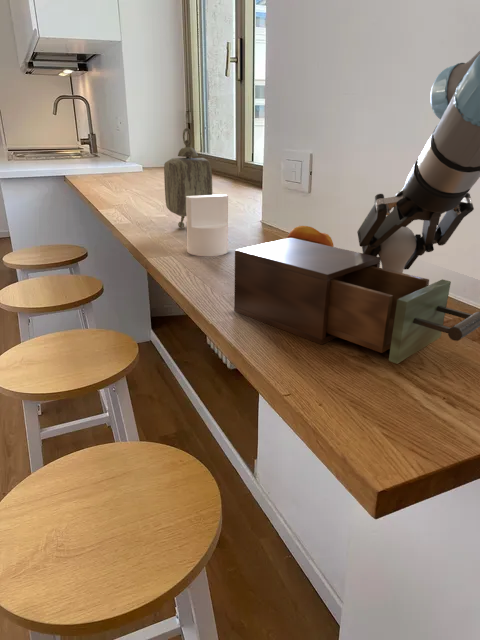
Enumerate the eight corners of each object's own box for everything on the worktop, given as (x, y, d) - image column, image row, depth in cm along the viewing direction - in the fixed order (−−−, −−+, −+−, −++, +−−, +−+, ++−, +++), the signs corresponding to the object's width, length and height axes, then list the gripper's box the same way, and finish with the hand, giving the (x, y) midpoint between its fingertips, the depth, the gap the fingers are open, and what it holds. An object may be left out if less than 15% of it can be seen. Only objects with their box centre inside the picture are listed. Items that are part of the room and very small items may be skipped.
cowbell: (212, 231, 129) (211, 128, 119) (178, 234, 126) (175, 128, 116) (196, 221, 141) (194, 127, 132) (165, 223, 138) (161, 127, 129)
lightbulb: (398, 300, 77) (408, 230, 73) (363, 291, 81) (370, 224, 77) (415, 291, 81) (425, 224, 77) (381, 283, 85) (389, 219, 81)
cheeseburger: (265, 274, 93) (273, 221, 91) (291, 275, 102) (299, 226, 100) (314, 283, 88) (323, 227, 86) (337, 283, 97) (346, 232, 95)
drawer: (485, 351, 62) (499, 292, 59) (445, 382, 54) (458, 316, 51) (342, 306, 76) (347, 257, 73) (295, 326, 68) (298, 272, 65)
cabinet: (373, 320, 73) (381, 257, 69) (321, 344, 65) (327, 274, 61) (287, 293, 84) (290, 237, 80) (234, 311, 76) (234, 249, 72)
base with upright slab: (218, 244, 115) (218, 192, 111) (234, 253, 108) (235, 197, 103) (181, 248, 112) (180, 194, 107) (195, 258, 104) (194, 200, 100)
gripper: (510, 147, 64) (435, 242, 85) (366, 147, 62) (326, 244, 84) (526, 195, 61) (444, 281, 82) (375, 196, 60) (331, 283, 81)
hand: (384, 262), depth 83 cm, fingers closed on lightbulb, 6 cm apart
